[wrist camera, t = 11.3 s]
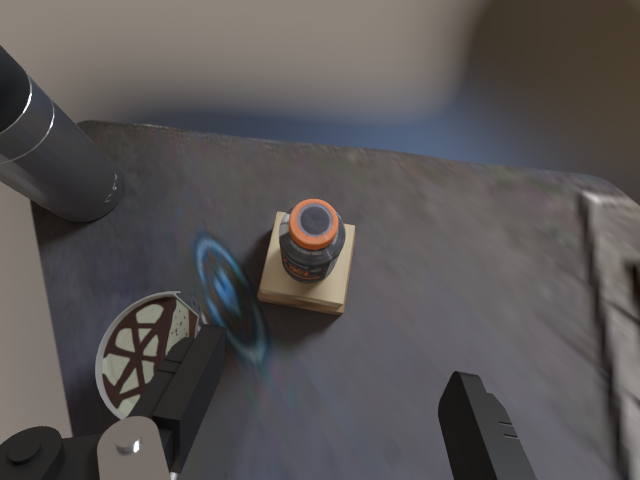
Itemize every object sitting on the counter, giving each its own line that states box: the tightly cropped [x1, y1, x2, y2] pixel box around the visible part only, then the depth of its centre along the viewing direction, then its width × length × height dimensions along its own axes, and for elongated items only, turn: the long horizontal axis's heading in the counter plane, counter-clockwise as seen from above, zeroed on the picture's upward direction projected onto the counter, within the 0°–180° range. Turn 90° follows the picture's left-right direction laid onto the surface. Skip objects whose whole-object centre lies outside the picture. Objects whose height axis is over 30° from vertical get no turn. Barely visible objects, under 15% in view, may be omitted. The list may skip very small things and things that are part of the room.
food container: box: [95, 291, 199, 420], centre depth 36 cm, size 12×6×10 cm, turn 178°
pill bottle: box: [279, 199, 346, 283], centre depth 34 cm, size 6×6×11 cm
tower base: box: [257, 211, 356, 316], centre depth 42 cm, size 10×10×6 cm
